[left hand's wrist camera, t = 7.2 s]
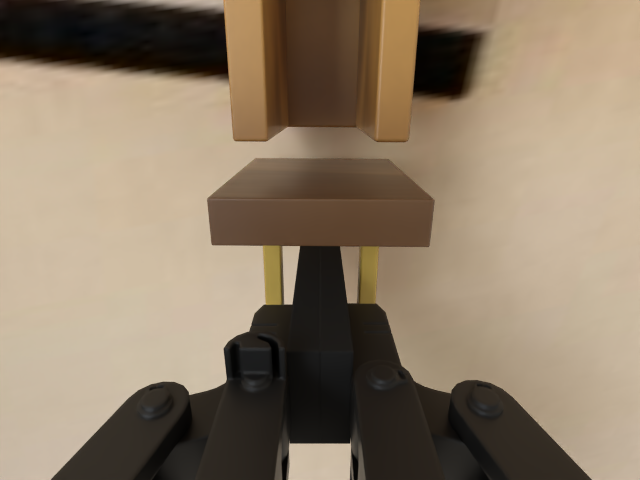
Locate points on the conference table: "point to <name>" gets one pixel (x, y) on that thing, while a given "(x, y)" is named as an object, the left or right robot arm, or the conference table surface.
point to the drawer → (321, 111)
